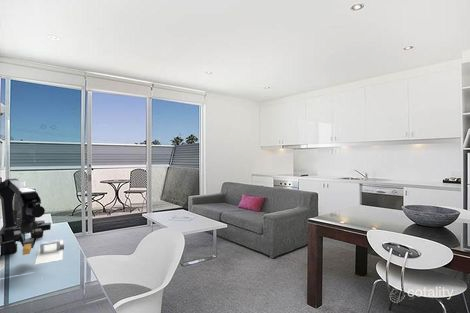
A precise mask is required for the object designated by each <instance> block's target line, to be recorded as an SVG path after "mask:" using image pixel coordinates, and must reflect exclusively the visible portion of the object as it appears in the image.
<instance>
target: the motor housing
mask: <svg viewBox="0 0 470 313" xmlns="http://www.w3.org/2000/svg"><path fill="white" fill-rule="evenodd" d="M60 240H61V239H54V240H46V241H41V242H40V244H39V248H40V253H44V245H49V244H55V243H57V250H60V249H63V250H64V249H65V243H63V244H60Z"/></svg>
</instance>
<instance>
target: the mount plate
mask: <svg viewBox="0 0 470 313" xmlns="http://www.w3.org/2000/svg"><path fill="white" fill-rule="evenodd" d="M60 244H64V239H60ZM36 256H37V257H36V260H35V263H34V266H35V265H41V264H46V263H51V262H52V263H53V262H57V261H62V260H63V259H64V258H63V256H64V249H60V250H57V243H55V244H49V245H44V253H40V247H39V249H38V252H37V255H36Z"/></svg>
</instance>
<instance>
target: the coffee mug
mask: <svg viewBox="0 0 470 313" xmlns="http://www.w3.org/2000/svg"><path fill="white" fill-rule="evenodd" d="M35 222H38V226H40V225H42V223H46V222H45V220H44V219H43V220H35ZM44 232H45V231H42V232H41V233H39V234H38V236H37V239H39V238H40V239H41V238H43V237H44ZM29 234H30V239H34V234H35V230H33V232H31V233H29Z"/></svg>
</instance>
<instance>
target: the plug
mask: <svg viewBox="0 0 470 313" xmlns="http://www.w3.org/2000/svg"><path fill="white" fill-rule="evenodd" d="M33 242H34V238H31V239H26V240H25V239H24V242H23V246H22V256H25V255H30V254H31V251H32V249H34V247H35V245H34V244H33Z"/></svg>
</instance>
